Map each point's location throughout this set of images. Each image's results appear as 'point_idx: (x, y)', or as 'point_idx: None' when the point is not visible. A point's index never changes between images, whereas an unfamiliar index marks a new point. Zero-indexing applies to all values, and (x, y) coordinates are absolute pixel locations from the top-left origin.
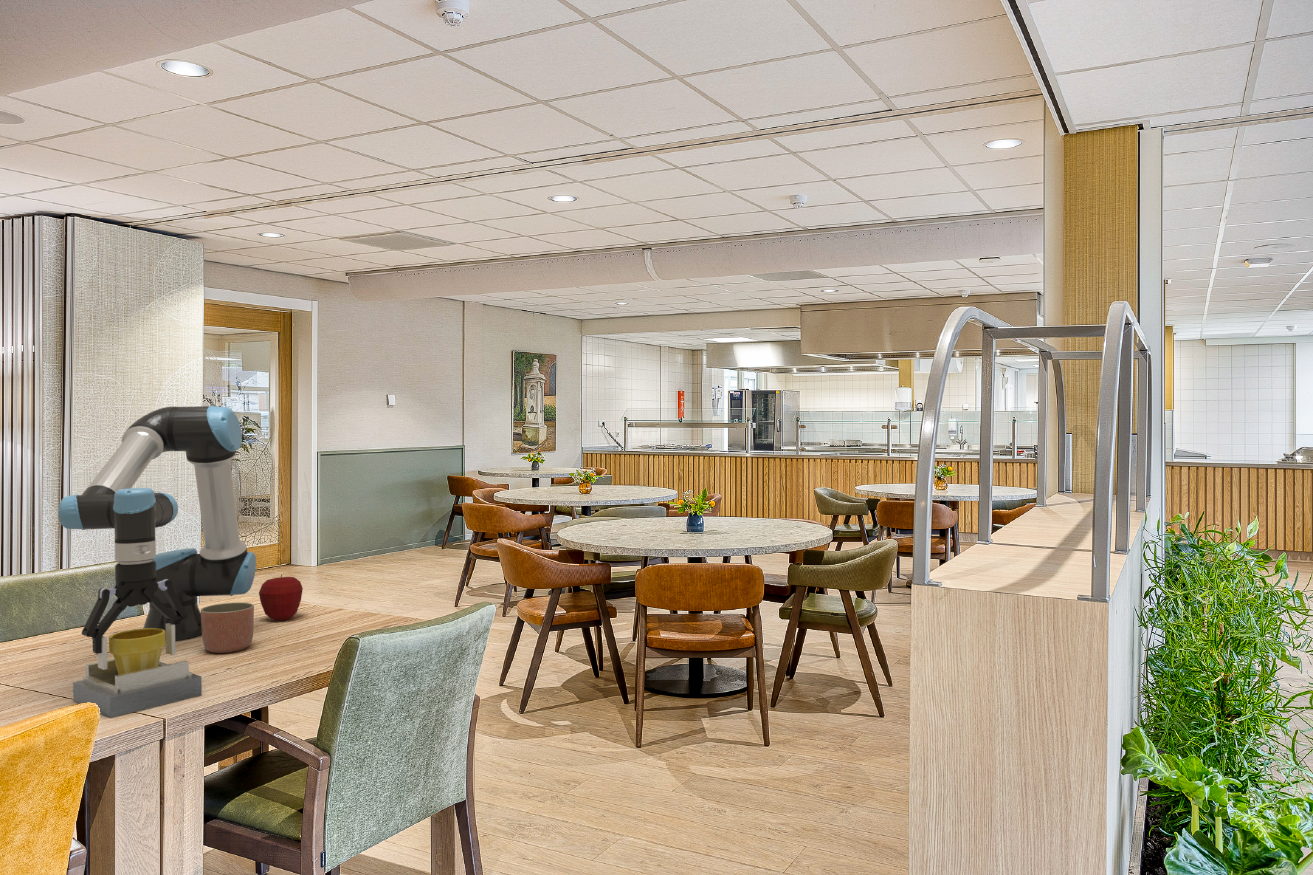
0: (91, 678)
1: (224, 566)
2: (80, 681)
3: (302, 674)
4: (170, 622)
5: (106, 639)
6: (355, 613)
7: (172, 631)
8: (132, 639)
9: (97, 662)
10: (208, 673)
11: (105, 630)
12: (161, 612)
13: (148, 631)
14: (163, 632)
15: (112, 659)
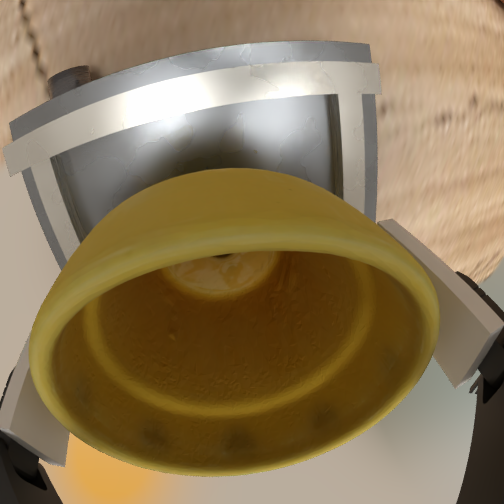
0: (48, 188)
1: None
2: (27, 126)
3: (485, 263)
4: (497, 348)
5: (64, 456)
6: None
7: (439, 357)
8: (192, 474)
9: (43, 130)
10: (439, 98)
11: (56, 501)
12: (486, 463)
13: (394, 279)
14: (370, 425)
15: (117, 102)
